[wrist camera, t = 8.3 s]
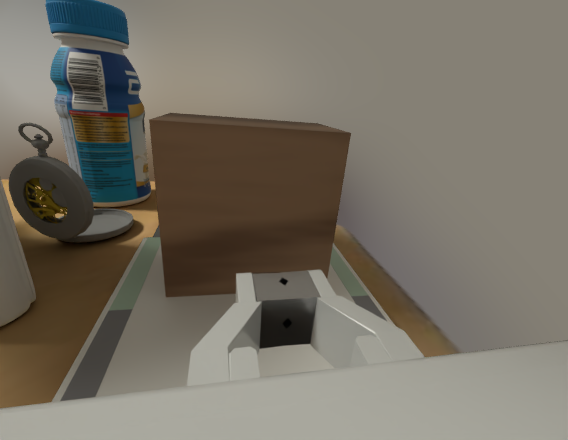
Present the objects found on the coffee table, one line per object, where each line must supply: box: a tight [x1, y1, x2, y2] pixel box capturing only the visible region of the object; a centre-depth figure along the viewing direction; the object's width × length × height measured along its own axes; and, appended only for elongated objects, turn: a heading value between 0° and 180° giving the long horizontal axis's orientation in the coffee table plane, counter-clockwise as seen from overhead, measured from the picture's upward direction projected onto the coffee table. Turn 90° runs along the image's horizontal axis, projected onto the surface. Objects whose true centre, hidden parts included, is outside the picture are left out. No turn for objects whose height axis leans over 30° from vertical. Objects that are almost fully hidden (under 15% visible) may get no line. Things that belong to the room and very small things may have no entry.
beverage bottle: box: [46, 0, 151, 207], centre depth 32 cm, size 8×8×20 cm
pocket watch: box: [9, 123, 133, 242], centre depth 25 cm, size 8×8×10 cm
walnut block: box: [149, 113, 351, 297], centre depth 19 cm, size 6×10×10 cm, turn 101°
